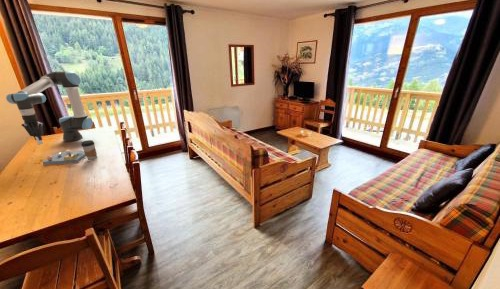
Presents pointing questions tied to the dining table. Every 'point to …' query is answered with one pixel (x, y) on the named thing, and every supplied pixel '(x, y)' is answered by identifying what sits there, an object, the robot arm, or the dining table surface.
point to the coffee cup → (89, 150)
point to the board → (61, 160)
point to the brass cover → (70, 157)
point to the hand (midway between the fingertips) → (40, 144)
